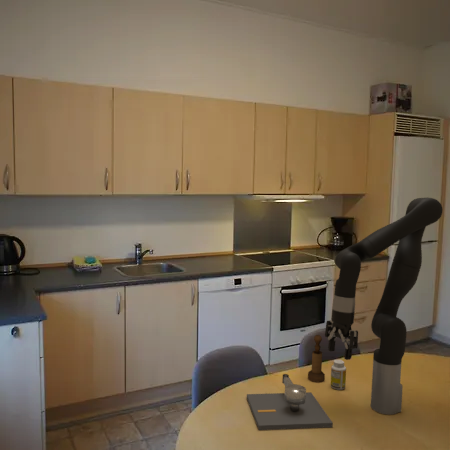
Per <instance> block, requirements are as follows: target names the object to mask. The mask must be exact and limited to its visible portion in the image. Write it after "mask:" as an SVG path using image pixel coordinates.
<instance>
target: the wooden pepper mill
mask: <svg viewBox="0 0 450 450" xmlns="http://www.w3.org/2000/svg"><path fill="white" fill-rule="evenodd" d="M313 340H314V342H315V345H314V350H312V354H311V355H312V356H311V369H310V370H309V371H308V372H307V379H308V380H309V381H310V382H313V383H323V382H324V381H325V377H326V376H325V375H326V374H325V373H324V372H323V371H322V365H323V351H322V350H321V346H320V344H321V342H322V341H323V338H322V336H321V335H320V334H316V335H314V337H313Z"/></svg>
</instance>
